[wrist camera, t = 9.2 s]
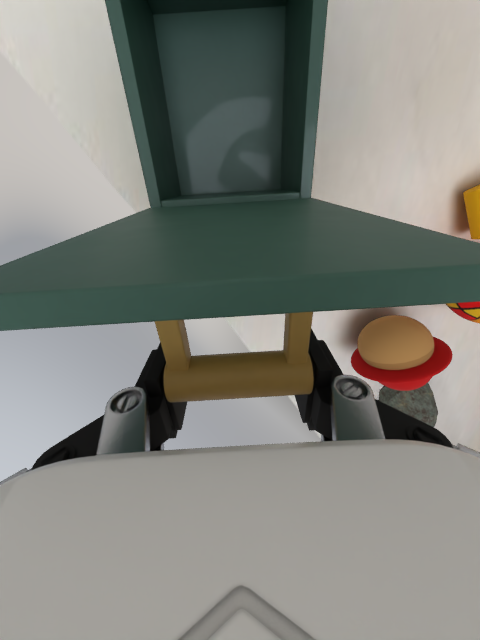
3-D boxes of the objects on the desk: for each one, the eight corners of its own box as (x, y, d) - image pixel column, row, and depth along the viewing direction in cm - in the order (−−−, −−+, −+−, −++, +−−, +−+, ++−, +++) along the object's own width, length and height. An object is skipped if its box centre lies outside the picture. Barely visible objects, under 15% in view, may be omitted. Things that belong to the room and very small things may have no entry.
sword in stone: (370, 385, 39) (420, 458, 29) (419, 365, 37) (492, 435, 27) (385, 418, 44) (433, 491, 33) (430, 402, 42) (496, 474, 31)
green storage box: (142, 6, 18) (77, -123, 10) (294, -4, 18) (340, -140, 10) (176, 204, 25) (151, 213, 17) (286, 197, 25) (310, 203, 17)
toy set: (305, 256, 32) (347, 375, 36) (331, 260, 21) (386, 426, 26) (510, 165, 27) (527, 313, 32) (667, 116, 17) (658, 344, 22)
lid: (-93, 300, 4) (48, 461, 7) (549, 261, 4) (435, 438, 7) (148, 208, 17) (165, 280, 19) (312, 198, 17) (305, 271, 19)
